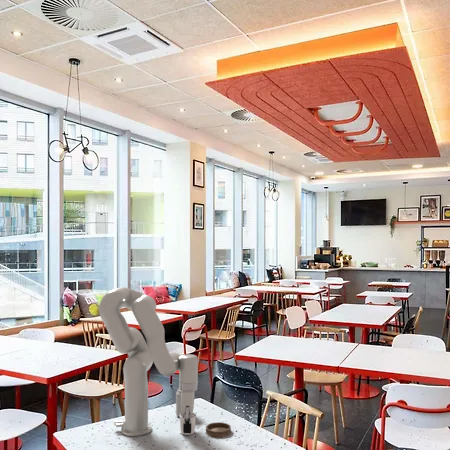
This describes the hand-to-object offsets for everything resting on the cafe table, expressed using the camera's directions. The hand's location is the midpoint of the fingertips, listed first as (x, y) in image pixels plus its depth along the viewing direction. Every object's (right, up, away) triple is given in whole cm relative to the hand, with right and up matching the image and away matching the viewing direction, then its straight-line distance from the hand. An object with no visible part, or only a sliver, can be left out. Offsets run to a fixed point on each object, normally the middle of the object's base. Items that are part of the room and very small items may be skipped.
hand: (187, 429), depth 200 cm
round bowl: (+13, -1, 0) cm, 13 cm away
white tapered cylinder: (0, -1, 0) cm, 1 cm away
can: (-3, -2, +20) cm, 20 cm away
